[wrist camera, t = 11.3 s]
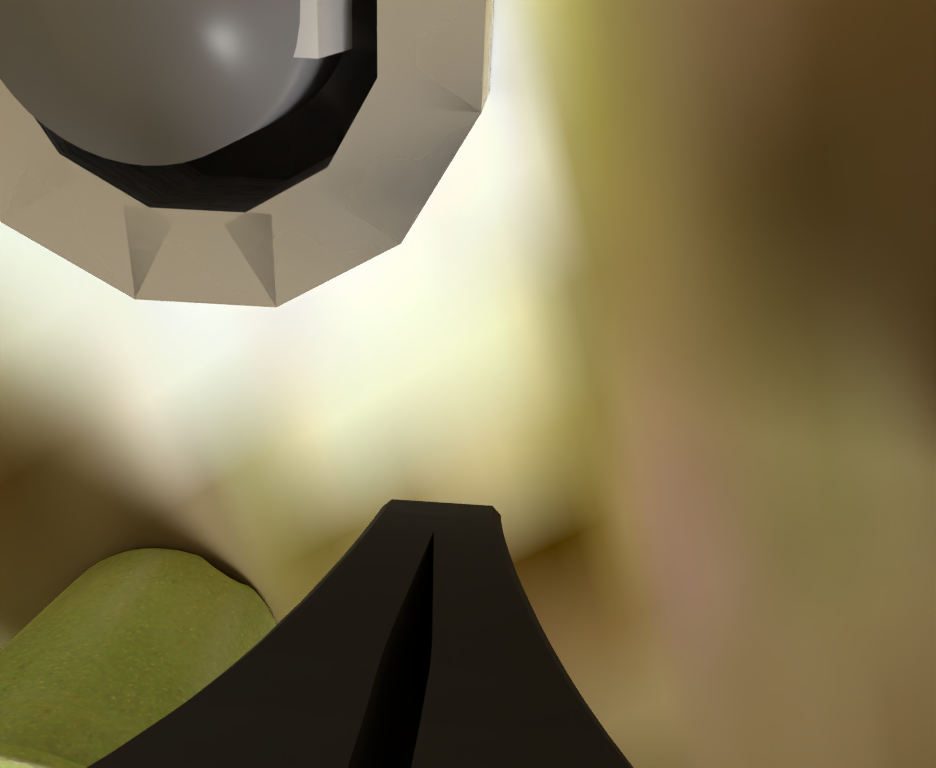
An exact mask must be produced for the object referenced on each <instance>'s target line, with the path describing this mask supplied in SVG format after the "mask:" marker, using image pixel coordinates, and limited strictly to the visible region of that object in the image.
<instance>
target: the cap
mask: <svg viewBox="0 0 936 768" xmlns="http://www.w3.org/2000/svg"><path fill="white" fill-rule="evenodd" d="M350 49H352V0H0V79H1V81H2V82H3V83H4V85H5V86H6V87H7V89H8V90H9V91H10V92H11V94H12V95H13V96H14V97H15V98H16V99H17V100H18V101H19V102H20V103H21V105H22V106H23V107H24V108H25V109H26V110H27V111H28V112H29V113H30V114H32V115H33V116H34V117H35V118H36V119H37V120H38V121H40V122H41V123H42V124H43V125H44V126H45V127H47V128H48V129H50V130H51V131H53V132H54V133H56V134H57V135H58V136H60V137H61V138H63V139H64V140H66V141H68V142H70V143H72V144H74V145H76V146H77V147H79V148H81V149H83V150H85V151H88V152H90V153H93V154H95V155H98V156H101V157H103V158H107V159H110V160H114V161H118V162H122V163H128V164H136V165H144V166H150V165H170V164H177V163H184V162H187V161H191V160H194V159H197V158H201V157H204V156H206V155H208V154H210V153H212V152H214V151H216V150H219V149H221V148H223V147H225V146H227V145H229V144H231V143H233V142H235V141H237V140H239V139H241V138H243V137H245V136H247V135H249V134H251V133H253V132H255V131H257V130H259V129H261V128H263V127H265V126H267V125H269V124H271V123H274V122H276V121H278V120H280V119H282V118H284V117H286V116H288V115H290V114H292V113H293V112H295V111H296V110H298V109H299V108H301V107H302V106H304V105H305V104H307V103H308V102H309V101H310V100H311V99H312V98H313V97H314V96H315V95H317V94H318V92H319V91H320V90H321V89H322V88H323V86H324V85H325V84H326V83H327V82H328V80H329V79H330V77H331V75H332V74H333V72H334V71H335V69H336V67H337V65H338V63H339V61H340V58H341V56H342V54H343V52H344V51H346V50H350Z"/></svg>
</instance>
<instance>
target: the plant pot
mask: <svg viewBox="0 0 936 768" xmlns="http://www.w3.org/2000/svg"><path fill="white" fill-rule="evenodd" d="M276 625H277V624H276V622H275V620H274V618H273V616H272V614H271V612H270V610H269V609H268V607H267V606H266V604H265V603H264V601H263V600H262V599H261V598H260V596H259V595H258V594H257V593H256V592H255V591H254V590H253V589H252V588H250V587H249V586H247V585H244V584H241V583H239V582H237V581H235V580H233V579H231V578H229V577H227V576H226V575H225V574H223V573H222V572H220V571H219V570H217V569H216V568H214V567H213V566H212V565H210V564H209V563H208V562H207V561H206V560H205V559H203V558H202V557H200V556H198V555H195V554H191V553H187V552H184V551H178V550H171V549H163V548H145V549H135V550H130V551H126V552H121V553H119V554H116V555H113V556H110V557H108V558H106V559H104V560H102V561H100V562H98V563H96V564H95V565H93V566H92V567H90V568H89V569H88V570H87V571H85V572H84V573H83V574H82V575H81V576H79V577H78V578H77V579H76V580H75V581H74V582H73V583H72V584H71V585H70V586H69V587H67V588H66V589H65V590H64V591H63V592H62V593H61V594H60V595H59V596H58V597H56V598H55V599H54V600H53V601H52V602H51V603H50V604H49V605H48V606H47V607H46V608H45V609H44V610H43V611H42V612H40V613H39V614H38V615H37V616H36V617H35V618H34V619H33V620H32V621H31V622H30V623H29V624H28V625H26V626H25V627H24V628H23V629H22V630H21V631H20V632H19V633H18V634H17V635H15V636H14V637H13V638H12V639H11V640H10V641H9V642H8V643H7V644H5V645H4V646H3V647H2V648H1V649H0V768H87V767H88V766H90V765H92V764H93V763H95V762H97V761H98V760H100V759H102V758H103V757H105V756H106V755H108V754H110V753H111V752H113V751H114V750H116V749H117V748H119V747H120V746H122V745H123V744H125V743H126V742H128V741H129V740H131V739H132V738H134V737H135V736H137V735H138V734H140V733H141V732H143V731H144V730H146V729H147V728H149V727H150V726H152V725H153V724H155V723H156V722H158V721H159V720H160V719H162V718H163V717H165V716H166V715H168V714H169V713H171V712H172V711H174V710H175V709H176V708H178V707H179V706H181V705H182V704H183V703H185V702H186V701H188V700H189V699H190V698H191V697H193V696H194V695H195V694H197V693H198V692H199V691H201V690H202V689H203V688H204V687H206V686H207V685H208V684H209V683H211V682H212V681H213V680H214V679H216V678H217V677H218V676H220V675H221V674H222V673H223V672H224V671H226V670H227V669H228V668H229V667H230V666H232V665H233V664H234V663H235V662H236V661H238V660H239V659H240V658H241V657H242V656H243V655H245V654H246V653H247V652H248V651H249V650H250V649H251V648H253V647H254V646H255V645H256V644H257V643H258V642H259V641H260V640H261V639H263V638H264V637H265V636H266V635H267V634H268V633H269V632H270V631H271V630H272V629H273V628H274V627H275V626H276Z"/></svg>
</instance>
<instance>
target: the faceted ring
mask: <svg viewBox="0 0 936 768" xmlns="http://www.w3.org/2000/svg"><path fill="white" fill-rule="evenodd" d="M493 5H494V0H352V49H350V50H346V51H344V52H343V54H342V56H341V58H340V61H339V63H338V65H337V67H336V69H335V71H334V72H333V74H332V75H331V77H330V79H329V80H328V82H327V83H326V84H325V85H324V86H323V88H322V89H321V90H320V91H319V92H318V94H317V95H315V96H314V97H313V98H312V99H311V100H310V101H309V102H308V103H307V104H305V105H304V106H302V107H301V108H299V109H298V110H296V111H295V112H293V113H292V114H290V115H288V116H286V117H284V118H282V119H280V120H278V121H276V122H274V123H271V124H269V125H267V126H265V127H263V128H261V129H259V130H257V131H255V132H253V133H251V134H249V135H247V136H245V137H243V138H241V139H239V140H237V141H235V142H233V143H231V144H229V145H227V146H225V147H223V148H221V149H219V150H216V151H214V152H212V153H210V154H208V155H206V156H204V157H201V158H197V159H194V160H191V161H187V162H184V163H177V164H170V165H150V166H144V165H136V164H128V163H122V162H118V161H114V160H110V159H107V158H103V157H101V156H98V155H95V154H93V153H90V152H88V151H85V150H83V149H81V148H79V147H77V146H76V145H74V144H72V143H70V142H68V141H66V140H64V139H63V138H61V137H60V136H58V135H57V134H56V133H54V132H53V131H51V130H50V129H48V128H47V127H45V126H44V125H43V124H42V123H41V122H40V121H38V120H37V119H36V118H35V117H34V116H33V115H32V114H30V113H29V112H28V111H27V110H26V109H25V108H24V107H23V106H22V105H21V103H20V102H19V101H18V100H17V99H16V98H15V97H14V96H13V95H12V94H11V92H10V91H9V90H8V89H7V87H6V86H5V85H4V83H3V82H2V81H1V79H0V221H1V222H2V223H4V224H5V225H7V226H9V227H11V228H12V229H14V230H16V231H18V232H19V233H21V234H23V235H25V236H26V237H28V238H30V239H31V240H33V241H35V242H37V243H38V244H40V245H42V246H44V247H45V248H47V249H49V250H51V251H52V252H54V253H56V254H57V255H59V256H61V257H63V258H64V259H66V260H68V261H70V262H71V263H73V264H75V265H77V266H78V267H80V268H82V269H84V270H85V271H87V272H89V273H90V274H92V275H94V276H96V277H97V278H99V279H101V280H103V281H104V282H106V283H108V284H110V285H111V286H113V287H115V288H116V289H118V290H120V291H122V292H123V293H125V294H127V295H129V296H130V297H132V298H134V299H141V300H159V301H176V302H194V303H211V304H229V305H246V306H264V307H278V306H280V305H282V304H284V303H286V302H288V301H289V300H291V299H293V298H295V297H297V296H299V295H301V294H303V293H305V292H307V291H309V290H311V289H313V288H315V287H317V286H319V285H321V284H323V283H325V282H327V281H329V280H330V279H332V278H334V277H336V276H338V275H340V274H342V273H344V272H346V271H348V270H350V269H352V268H354V267H356V266H358V265H360V264H362V263H364V262H366V261H368V260H370V259H372V258H373V257H375V256H377V255H379V254H381V253H383V252H385V251H387V250H389V249H391V248H393V247H395V246H397V245H399V244H401V242H402V241H403V239H404V238H405V236H406V234H407V233H408V231H409V229H410V228H411V226H412V224H413V223H414V221H415V220H416V218H417V216H418V215H419V213H420V211H421V210H422V208H423V207H424V205H425V203H426V202H427V200H428V198H429V197H430V195H431V194H432V192H433V190H434V189H435V187H436V185H437V184H438V182H439V180H440V179H441V177H442V176H443V174H444V172H445V171H446V169H447V167H448V166H449V164H450V163H451V161H452V159H453V158H454V156H455V154H456V153H457V151H458V149H459V148H460V146H461V145H462V143H463V141H464V140H465V138H466V136H467V135H468V133H469V132H470V130H471V128H472V127H473V125H474V123H475V122H476V120H477V119H478V117H479V115H480V114H481V112H482V109H483V107H484V104H485V102H486V99H487V96H488V94H489V91H490V70H491V48H492V27H493Z"/></svg>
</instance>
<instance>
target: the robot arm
mask: <svg viewBox="0 0 936 768" xmlns="http://www.w3.org/2000/svg"><path fill="white" fill-rule="evenodd" d="M87 768H633V767H632V765H631V764H630V763H629V761H628V760H627V759H626V757H625V756H624V755H623V753H622V752H621V751H620V749H619V748H618V747H617V746H616V744H615V743H614V742H613V740H612V739H611V738H610V736H609V735H608V734H607V732H606V731H605V729H604V728H603V727H602V725H601V724H600V722H599V721H598V719H597V718H596V717H595V715H594V714H593V712H592V711H591V709H590V708H589V706H588V705H587V704H586V702H585V701H584V699H583V697H582V696H581V694H580V693H579V691H578V690H577V688H576V687H575V685H574V683H573V682H572V680H571V678H570V677H569V675H568V674H567V672H566V670H565V669H564V667H563V665H562V663H561V662H560V660H559V658H558V656H557V655H556V653H555V651H554V649H553V648H552V646H551V644H550V642H549V641H548V639H547V637H546V635H545V633H544V631H543V629H542V627H541V625H540V623H539V621H538V619H537V617H536V615H535V613H534V611H533V609H532V606H531V604H530V602H529V600H528V598H527V596H526V594H525V591H524V589H523V587H522V585H521V583H520V580H519V578H518V575H517V573H516V570H515V568H514V565H513V562H512V559H511V557H510V554H509V551H508V548H507V545H506V541H505V538H504V534H503V529H502V524H501V515H500V514H499V513H498V512H497V511H496V510H495V508H494V507H493V506H485V505H470V504H455V503H439V502H424V501H409V500H393V499H392V500H390V501H389V502H388V503H387V504H385V505H384V506H383V507H382V508H381V510H380V511H379V512H378V514H377V515H376V516H375V518H374V519H373V520H372V522H371V523H370V524H369V525H368V527H367V528H366V529H365V530H364V532H363V533H362V534H361V535H360V537H359V538H358V539H357V540H356V542H355V543H354V544H353V545H352V546H351V547H350V549H349V550H348V551H347V552H346V553H345V554H344V556H343V557H342V558H341V559H340V560H339V561H338V562H337V564H336V565H335V566H334V567H333V568H332V569H331V570H330V571H329V572H328V573H327V574H326V576H325V577H324V578H323V579H322V580H321V581H320V582H319V583H318V584H317V585H316V586H315V588H314V589H313V590H312V591H311V592H310V593H309V594H308V595H307V596H306V597H305V598H304V599H303V600H302V601H301V602H300V603H299V604H298V605H297V606H296V607H295V608H294V609H293V610H292V611H291V612H290V613H289V614H288V615H287V616H286V617H285V618H283V619H282V620H281V621H280V622H279V623H278V624H277V625H276V626H275V627H274V628H273V629H272V630H271V631H270V632H269V633H268V634H267V635H266V636H265V637H264V638H263V639H261V640H260V641H259V642H258V643H257V644H256V645H255V646H254V647H253V648H251V649H250V650H249V651H248V652H247V653H246V654H245V655H243V656H242V657H241V658H240V659H239V660H238V661H236V662H235V663H234V664H233V665H232V666H230V667H229V668H228V669H227V670H226V671H224V672H223V673H222V674H221V675H220V676H218V677H217V678H216V679H214V680H213V681H212V682H211V683H209V684H208V685H207V686H206V687H204V688H203V689H202V690H201V691H199V692H198V693H197V694H195V695H194V696H193V697H191V698H190V699H189V700H188V701H186V702H185V703H183V704H182V705H181V706H179V707H178V708H176V709H175V710H174V711H172V712H171V713H169V714H168V715H166V716H165V717H163V718H162V719H160V720H159V721H158V722H156V723H155V724H153V725H152V726H150V727H149V728H147V729H146V730H144V731H143V732H141V733H140V734H138V735H137V736H135V737H134V738H132V739H131V740H129V741H128V742H126V743H125V744H123V745H122V746H120V747H119V748H117V749H116V750H114V751H113V752H111V753H110V754H108V755H106V756H105V757H103V758H102V759H100V760H98V761H97V762H95V763H93V764H92V765H90V766H88V767H87Z"/></svg>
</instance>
